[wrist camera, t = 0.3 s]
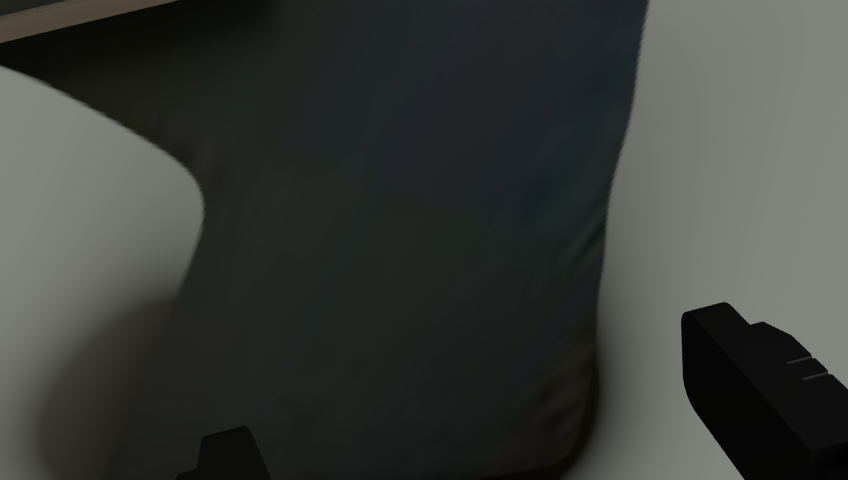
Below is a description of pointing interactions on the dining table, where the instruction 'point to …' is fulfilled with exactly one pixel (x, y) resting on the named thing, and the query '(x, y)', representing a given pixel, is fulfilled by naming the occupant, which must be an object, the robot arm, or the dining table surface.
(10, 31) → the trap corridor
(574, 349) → the dining table surface
